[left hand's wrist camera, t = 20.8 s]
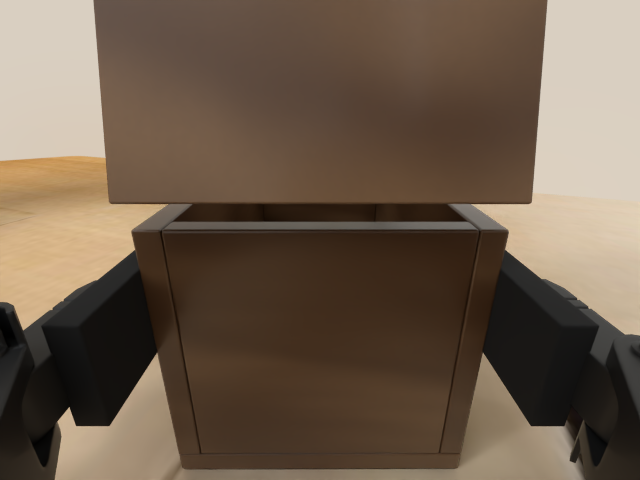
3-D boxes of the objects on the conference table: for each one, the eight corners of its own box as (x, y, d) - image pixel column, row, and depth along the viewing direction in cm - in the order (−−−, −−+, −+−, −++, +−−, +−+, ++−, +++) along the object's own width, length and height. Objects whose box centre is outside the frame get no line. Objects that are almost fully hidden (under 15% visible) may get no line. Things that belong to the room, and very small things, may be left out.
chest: (258, 262, 27) (250, 146, 24) (380, 262, 27) (388, 146, 24) (181, 469, 12) (129, 230, 9) (458, 469, 12) (510, 230, 9)
